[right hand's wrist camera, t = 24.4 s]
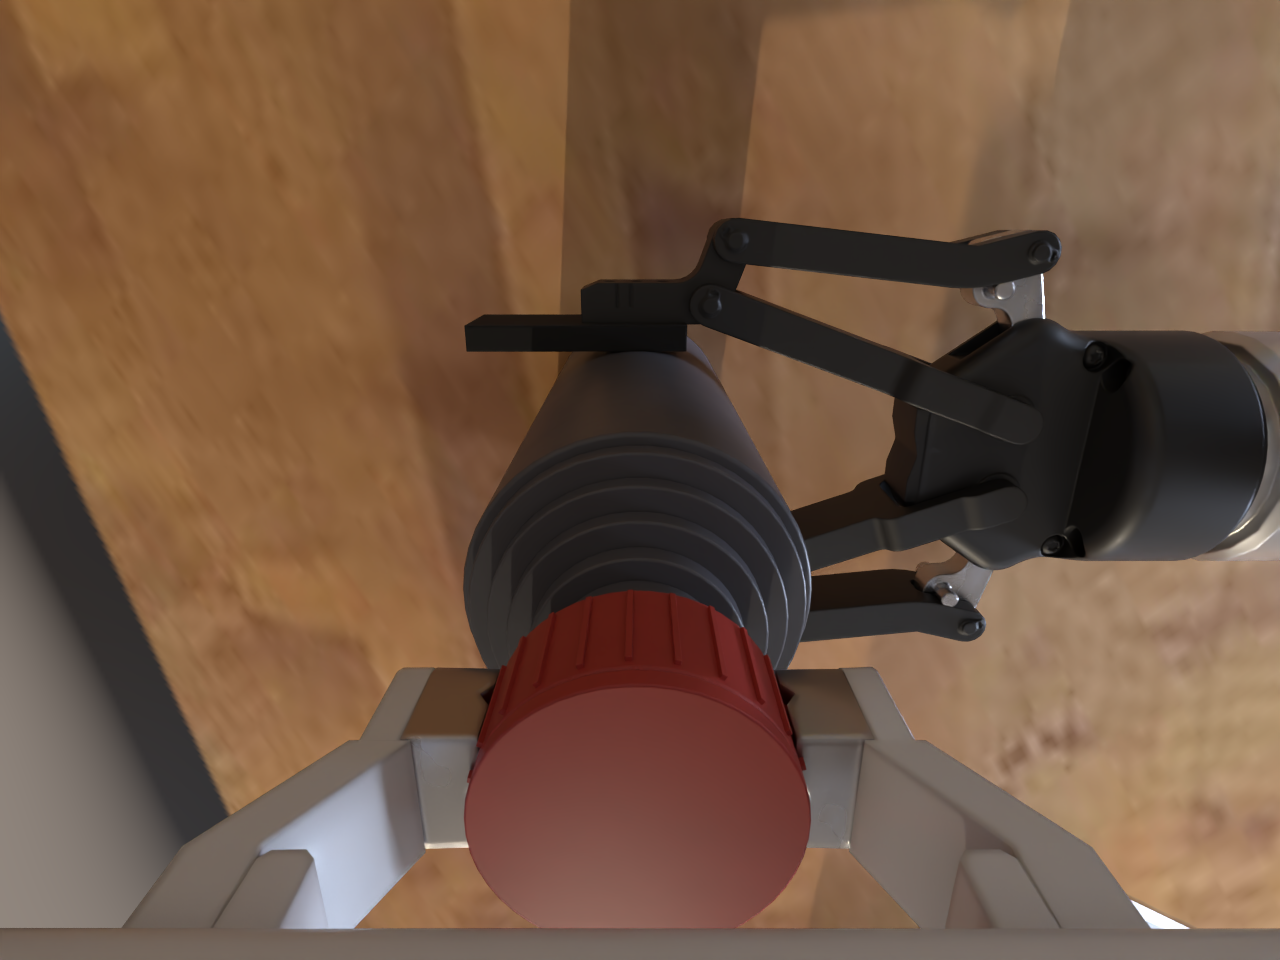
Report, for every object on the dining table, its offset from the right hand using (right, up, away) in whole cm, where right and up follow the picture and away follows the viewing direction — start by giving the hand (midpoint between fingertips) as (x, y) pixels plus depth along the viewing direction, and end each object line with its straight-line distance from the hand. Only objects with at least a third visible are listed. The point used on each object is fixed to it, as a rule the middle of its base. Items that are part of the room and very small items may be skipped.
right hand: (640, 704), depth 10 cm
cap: (0, -1, -2) cm, 2 cm away
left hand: (-5, +4, +12) cm, 14 cm away
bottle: (0, +7, +18) cm, 20 cm away
